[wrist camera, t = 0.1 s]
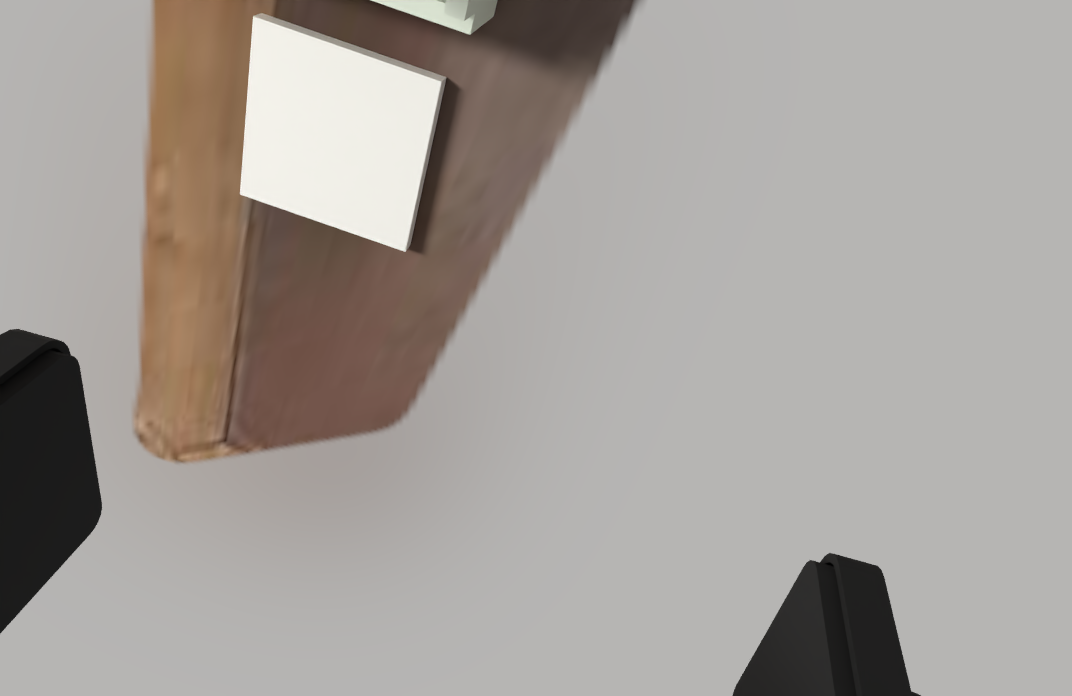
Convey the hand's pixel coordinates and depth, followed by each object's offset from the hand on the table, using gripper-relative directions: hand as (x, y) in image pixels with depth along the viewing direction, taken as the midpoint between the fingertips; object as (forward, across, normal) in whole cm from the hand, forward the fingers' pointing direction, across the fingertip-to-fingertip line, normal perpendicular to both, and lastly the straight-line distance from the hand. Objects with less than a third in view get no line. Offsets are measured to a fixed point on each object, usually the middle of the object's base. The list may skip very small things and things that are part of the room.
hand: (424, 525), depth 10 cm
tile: (+37, +16, +11) cm, 42 cm away
